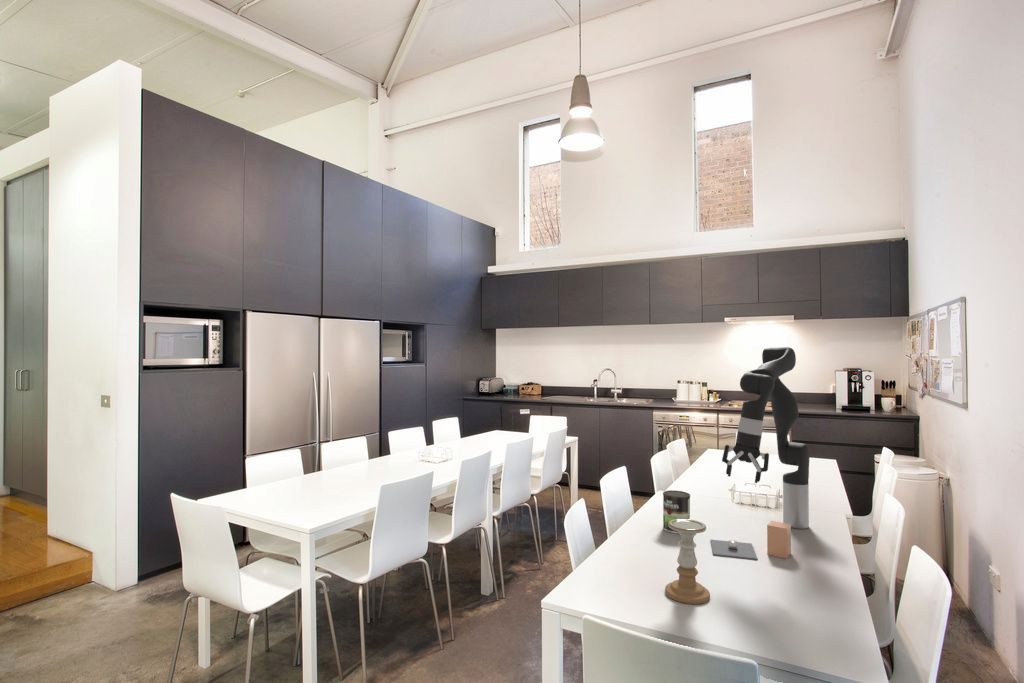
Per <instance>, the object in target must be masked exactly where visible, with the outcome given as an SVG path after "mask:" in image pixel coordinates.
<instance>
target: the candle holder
mask: <svg viewBox="0 0 1024 683" xmlns="http://www.w3.org/2000/svg"><path fill="white" fill-rule="evenodd" d="M668 526H669V527H670V528H671V529H673V530H675V531H678V533H679V535H680V540H679V541H678V543H677V545H678V546H679V552H678V555H677V559H676V562H677V563H678V566H677V567H676V572H677V573H678V579H676V580H673V581H671V582H669V583H667V584H666V585H665V587H664V592H665V595H666V596H667V597H668V598H670V599H671V600H674V601H675V602H679V603H682V604H687V605H700V604H705V603H707V602H708V601H710V598H711V592H710V591H709V590H708V589H707V588H706V587H705V586H704V585H702V584H701V583H699V582H697V580H696V576H697V575H698V574H699V571H698V569H697V568H696V566H697V565H698V559H697V557H696V553H695V549H696V547H697V543H696V542H695V541H694V539H695V536H696V535H698V534H702V533H704V532H706V530H707V525H706V524H705V523H703V522H701V521H698V520H696V519H695V520H694V519H674V520H671V521H669V523H668Z"/></svg>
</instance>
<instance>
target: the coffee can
mask: <svg viewBox="0 0 1024 683" xmlns="http://www.w3.org/2000/svg"><path fill="white" fill-rule="evenodd" d="M662 496H663V498H662V501H663V505H662V507H663V510H662V511H663V514H662V515H663V516H662V518H663V520H662V522H663V523H662V524H663V525H662V529H663V531H665V532H668V533H671V534H675V535H676V534H677V535H678V534H679V533H678V531H675V530H673V529H671V528H670V527H669V526H668V523H669V521H671V520H674V519H690V518H691V494H690V493H689V492H686V491H684V490H683V491H682V490H672V489H671V490H664V491H663V492H662ZM690 520H691V519H690ZM679 535H680V534H679Z"/></svg>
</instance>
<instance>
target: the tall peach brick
mask: <svg viewBox="0 0 1024 683" xmlns="http://www.w3.org/2000/svg"><path fill="white" fill-rule="evenodd" d="M766 526H767V527H766V528H767V529H766V530H767V531H766V532H767V533H766V534H767V535H766V537H767V538H766V541H767V542H766V543H767V544H766V547H767V551H766V552H767V555H770V556H773V557H774V556H775V557H777V558H778V557H779V558H783V559H788V558H789V557H790V556H791V554H792V532H791V531H792V527H791V524H787V523H783V522H781V521H776V520H771V521H770V522H768V523H767V525H766Z"/></svg>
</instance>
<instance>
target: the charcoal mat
mask: <svg viewBox="0 0 1024 683" xmlns="http://www.w3.org/2000/svg"><path fill="white" fill-rule="evenodd" d="M728 541H729V540H720V539H710V545H711V551H712V555H713V556H717V557H727V558H735V559H745V560H755V561H758V559H759V558H758V556H757V554H756V551H755V549H754V548H755V547H754V546H753V544H752V543H750V542H741V541H737V550H731V549H729V548H728Z"/></svg>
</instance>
